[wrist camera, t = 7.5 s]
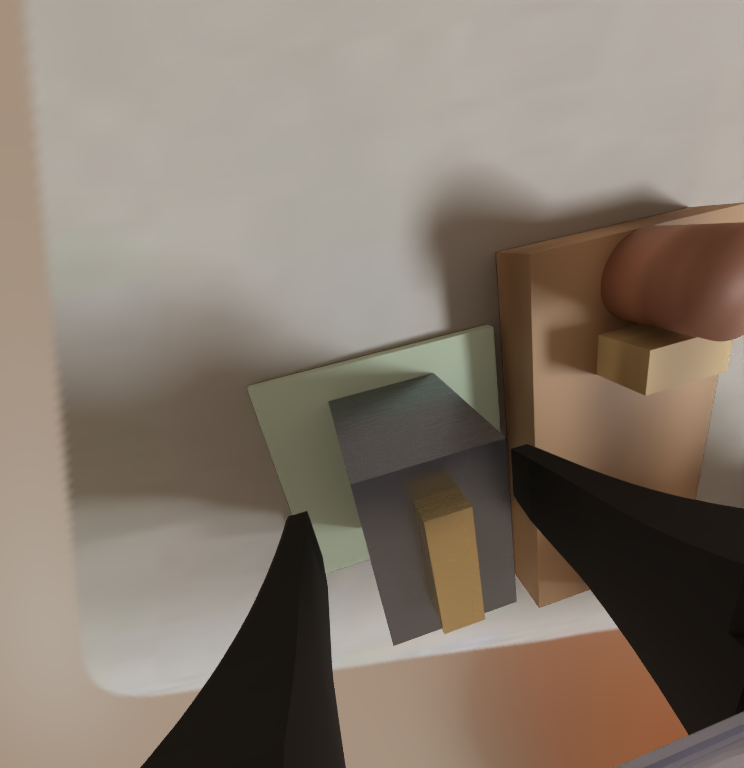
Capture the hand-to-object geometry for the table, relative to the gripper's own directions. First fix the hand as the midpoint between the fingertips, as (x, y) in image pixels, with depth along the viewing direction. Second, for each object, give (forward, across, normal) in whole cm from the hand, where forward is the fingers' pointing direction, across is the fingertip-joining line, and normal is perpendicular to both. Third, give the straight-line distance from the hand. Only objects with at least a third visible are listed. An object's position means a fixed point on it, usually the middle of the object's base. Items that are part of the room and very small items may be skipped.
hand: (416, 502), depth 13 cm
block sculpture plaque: (+3, -9, +1) cm, 10 cm away
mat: (+3, 0, 0) cm, 3 cm away
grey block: (+2, 0, 0) cm, 3 cm away
